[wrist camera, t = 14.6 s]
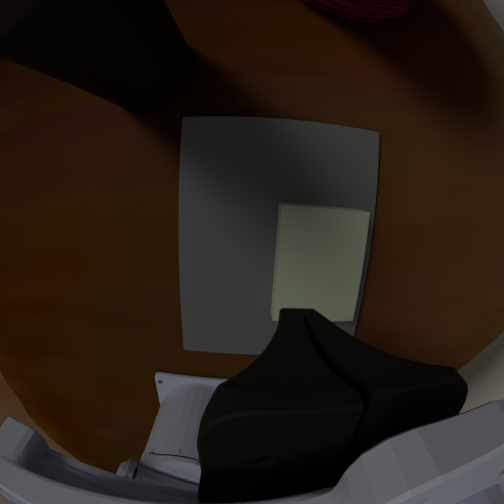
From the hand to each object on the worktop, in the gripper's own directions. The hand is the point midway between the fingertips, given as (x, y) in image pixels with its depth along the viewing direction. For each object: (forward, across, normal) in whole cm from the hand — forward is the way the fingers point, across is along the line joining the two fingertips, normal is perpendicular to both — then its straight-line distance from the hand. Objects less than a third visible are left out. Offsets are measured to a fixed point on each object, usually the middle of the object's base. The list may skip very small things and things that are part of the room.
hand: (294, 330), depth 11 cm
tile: (+9, 0, 0) cm, 9 cm away
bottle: (+10, +10, -14) cm, 20 cm away
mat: (+10, 0, -1) cm, 10 cm away
